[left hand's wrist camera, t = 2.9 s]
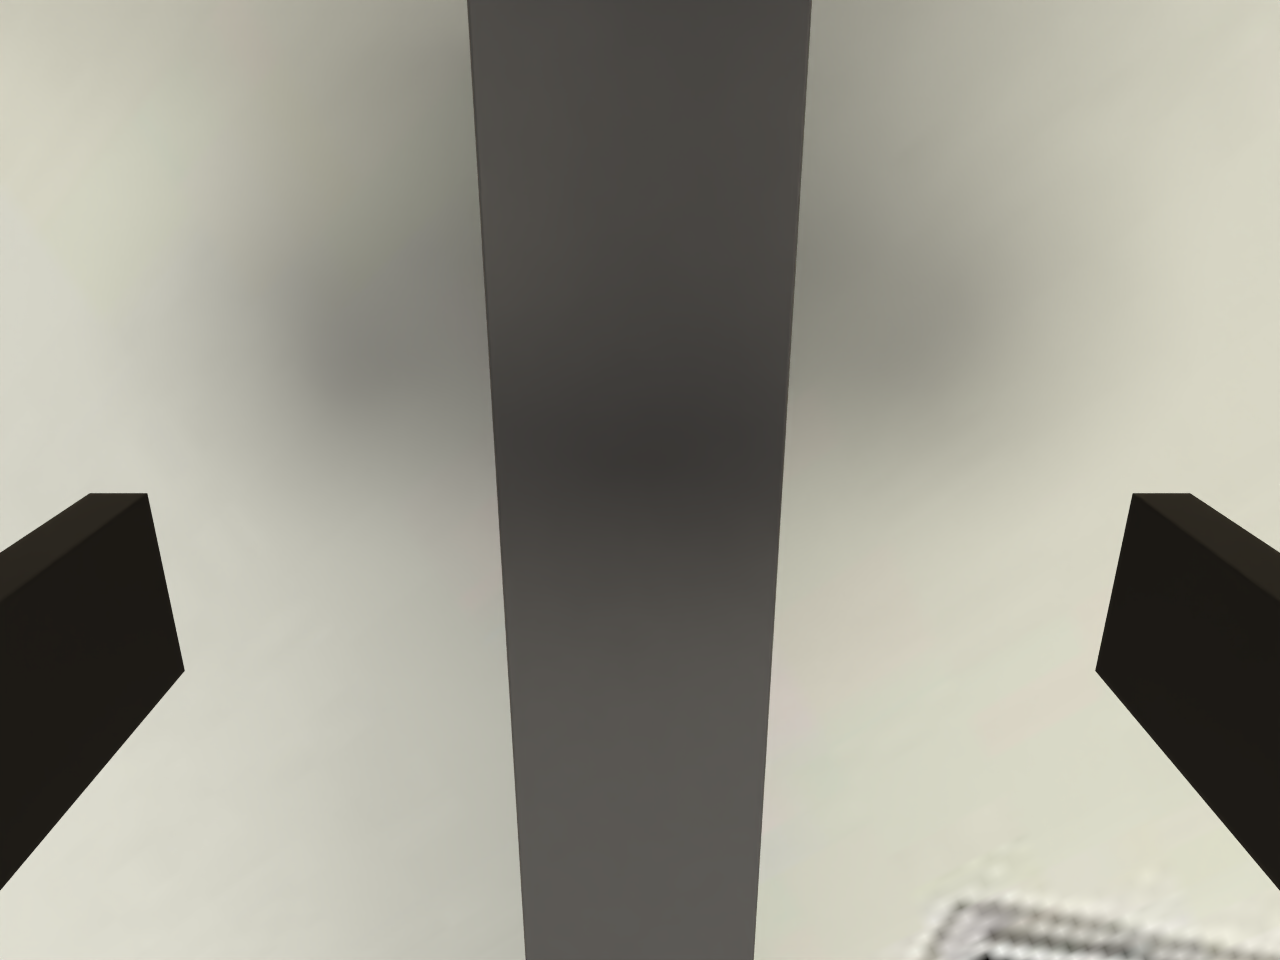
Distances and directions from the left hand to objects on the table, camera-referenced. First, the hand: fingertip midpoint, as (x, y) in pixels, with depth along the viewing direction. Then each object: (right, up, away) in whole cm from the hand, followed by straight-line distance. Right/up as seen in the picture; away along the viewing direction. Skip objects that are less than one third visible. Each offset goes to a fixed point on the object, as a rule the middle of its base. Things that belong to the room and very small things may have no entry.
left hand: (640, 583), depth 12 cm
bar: (0, -27, +23) cm, 35 cm away
